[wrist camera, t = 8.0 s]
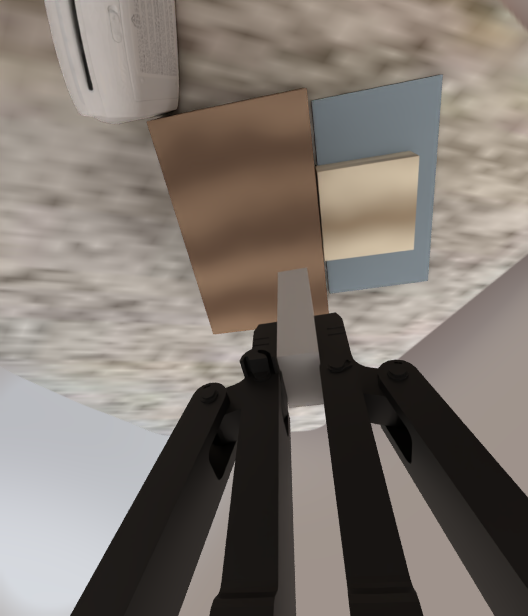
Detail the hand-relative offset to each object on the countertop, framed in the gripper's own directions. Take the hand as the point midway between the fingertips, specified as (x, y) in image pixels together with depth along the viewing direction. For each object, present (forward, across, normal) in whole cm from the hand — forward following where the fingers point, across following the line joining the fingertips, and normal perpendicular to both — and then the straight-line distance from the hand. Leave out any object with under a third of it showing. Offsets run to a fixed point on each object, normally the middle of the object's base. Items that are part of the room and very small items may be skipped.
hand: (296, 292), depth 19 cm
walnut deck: (+17, -4, -2) cm, 18 cm away
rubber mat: (+17, +8, -2) cm, 19 cm away
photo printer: (+18, -8, +14) cm, 24 cm away
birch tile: (+17, +6, -2) cm, 18 cm away
